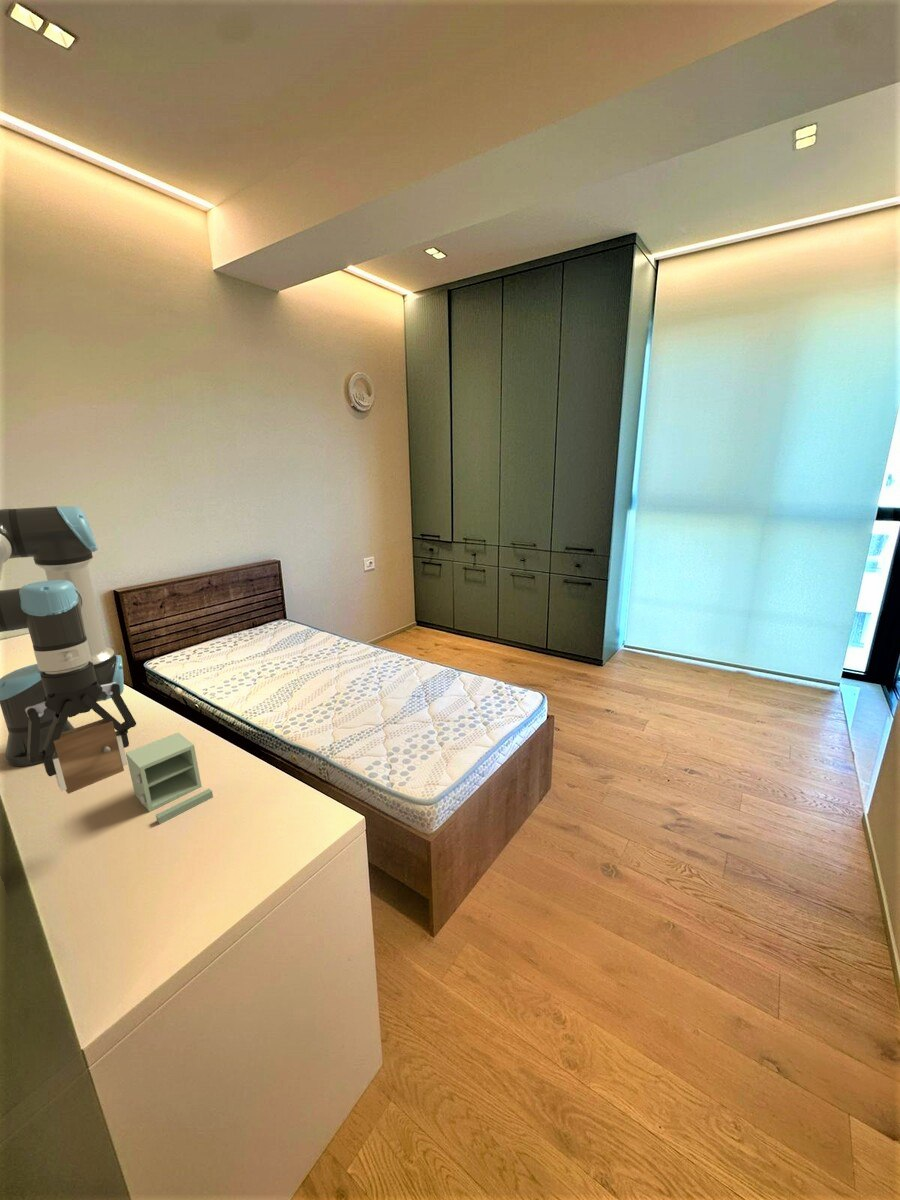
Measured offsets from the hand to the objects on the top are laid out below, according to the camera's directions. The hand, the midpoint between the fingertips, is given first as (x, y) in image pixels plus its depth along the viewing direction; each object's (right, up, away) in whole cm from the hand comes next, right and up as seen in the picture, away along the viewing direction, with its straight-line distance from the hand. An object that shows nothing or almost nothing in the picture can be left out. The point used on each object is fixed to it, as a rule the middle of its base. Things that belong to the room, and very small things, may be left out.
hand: (93, 774), depth 90 cm
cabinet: (+6, -11, +16) cm, 20 cm away
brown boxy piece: (0, -1, 0) cm, 1 cm away
